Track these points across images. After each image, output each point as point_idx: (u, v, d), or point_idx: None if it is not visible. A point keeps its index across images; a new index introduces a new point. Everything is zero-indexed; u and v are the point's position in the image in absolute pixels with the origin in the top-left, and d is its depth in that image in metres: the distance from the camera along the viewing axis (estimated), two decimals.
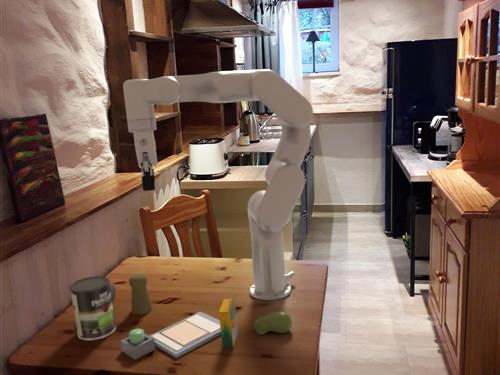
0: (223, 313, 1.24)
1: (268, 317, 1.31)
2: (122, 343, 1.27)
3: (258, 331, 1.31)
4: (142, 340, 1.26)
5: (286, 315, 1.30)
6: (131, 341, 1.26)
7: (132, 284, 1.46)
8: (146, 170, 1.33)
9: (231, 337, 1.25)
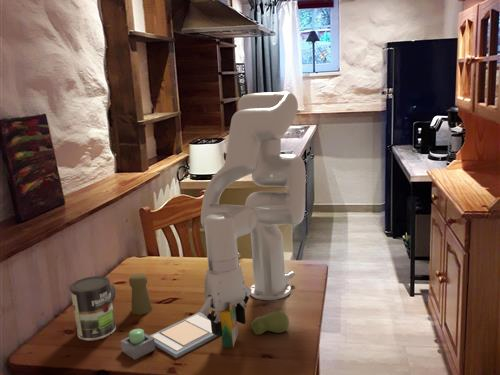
0: (223, 313, 1.24)
1: (265, 317, 1.31)
2: (122, 343, 1.27)
3: (255, 331, 1.31)
4: (142, 340, 1.26)
5: (283, 315, 1.30)
6: (131, 341, 1.26)
7: (132, 284, 1.46)
8: None
9: (231, 337, 1.25)
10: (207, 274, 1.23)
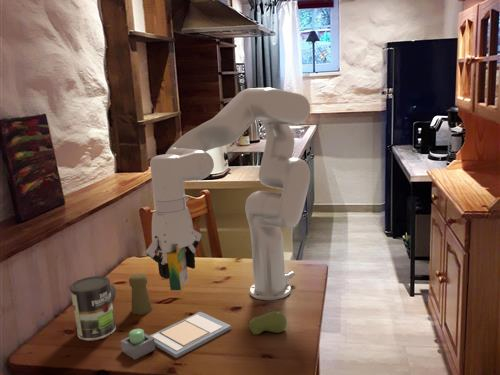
0: (170, 255, 1.24)
1: (263, 317, 1.31)
2: (122, 343, 1.27)
3: (253, 331, 1.31)
4: (142, 340, 1.26)
5: (281, 315, 1.30)
6: (131, 341, 1.26)
7: (132, 284, 1.46)
8: None
9: (179, 279, 1.25)
10: (153, 215, 1.23)
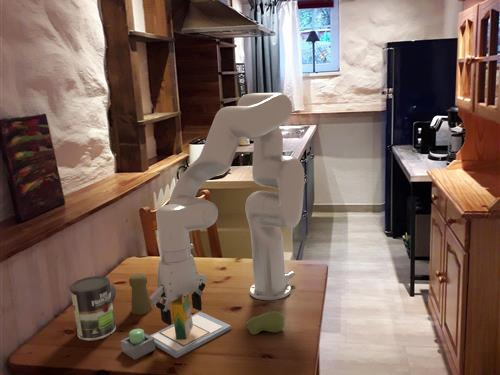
0: (175, 306, 1.27)
1: (261, 317, 1.31)
2: (122, 343, 1.27)
3: (251, 331, 1.31)
4: (142, 340, 1.26)
5: (279, 314, 1.31)
6: (131, 341, 1.26)
7: (132, 284, 1.46)
8: None
9: (184, 329, 1.28)
10: (159, 264, 1.25)
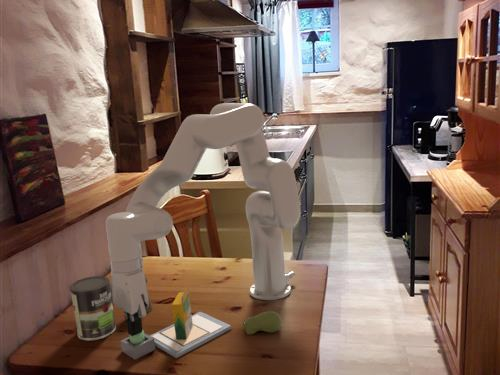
0: (175, 306, 1.27)
1: (257, 317, 1.31)
2: (122, 343, 1.27)
3: (247, 331, 1.31)
4: (142, 340, 1.26)
5: (275, 314, 1.31)
6: (131, 341, 1.26)
7: None
8: None
9: (184, 329, 1.28)
10: (134, 276, 1.19)
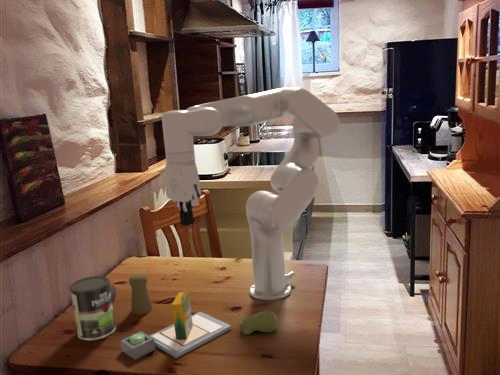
0: (175, 306, 1.27)
1: (254, 317, 1.31)
2: (122, 343, 1.27)
3: (244, 331, 1.32)
4: None
5: (271, 314, 1.31)
6: None
7: (132, 284, 1.46)
8: None
9: (184, 329, 1.28)
10: (188, 166, 1.30)
